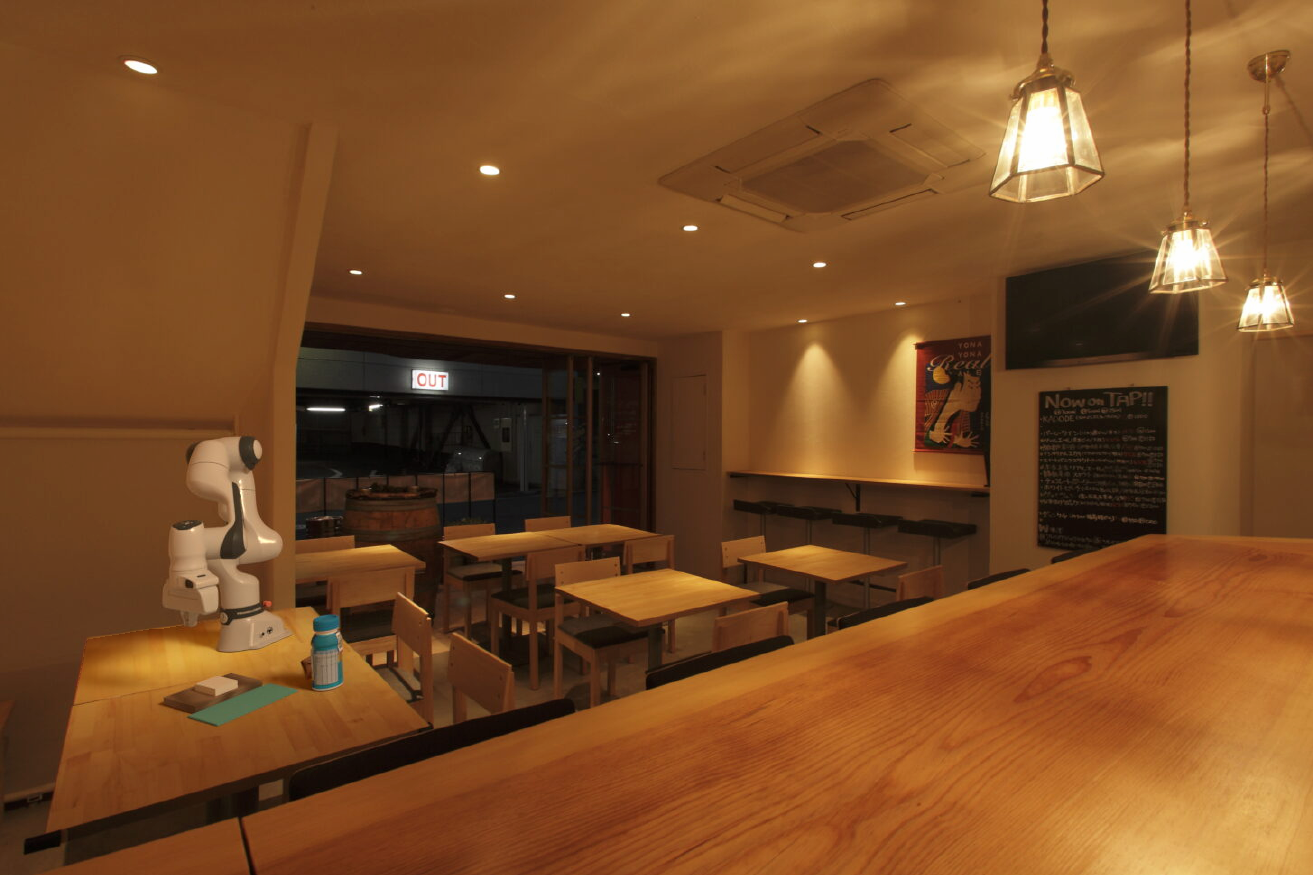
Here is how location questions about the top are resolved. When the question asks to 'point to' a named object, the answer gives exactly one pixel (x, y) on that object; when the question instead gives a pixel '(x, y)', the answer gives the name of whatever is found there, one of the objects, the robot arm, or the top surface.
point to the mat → (242, 704)
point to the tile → (216, 685)
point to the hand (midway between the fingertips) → (190, 625)
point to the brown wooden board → (200, 701)
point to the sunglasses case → (307, 667)
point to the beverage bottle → (326, 653)
